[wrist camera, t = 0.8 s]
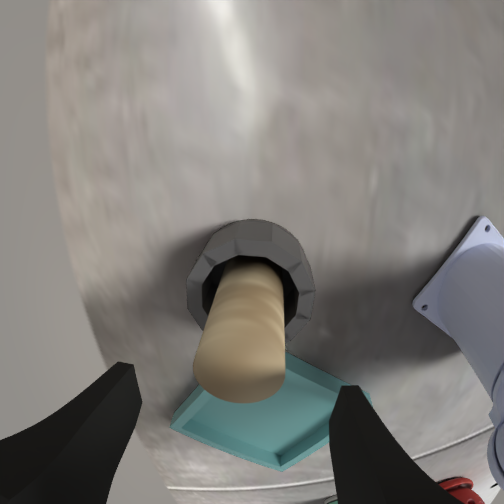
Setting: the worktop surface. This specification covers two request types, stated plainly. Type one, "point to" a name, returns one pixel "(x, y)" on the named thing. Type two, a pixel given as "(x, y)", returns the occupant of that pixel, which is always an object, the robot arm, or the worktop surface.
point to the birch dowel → (244, 333)
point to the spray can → (331, 500)
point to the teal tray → (266, 418)
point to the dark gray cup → (254, 244)
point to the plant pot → (462, 490)
